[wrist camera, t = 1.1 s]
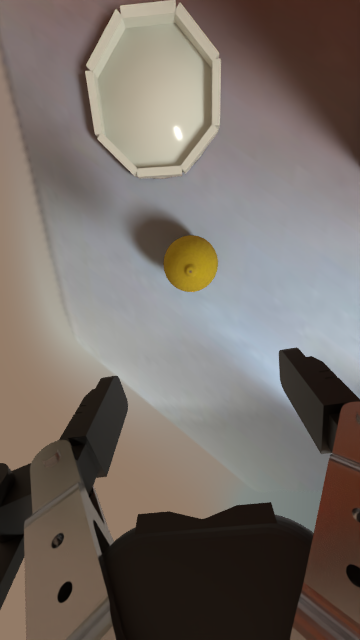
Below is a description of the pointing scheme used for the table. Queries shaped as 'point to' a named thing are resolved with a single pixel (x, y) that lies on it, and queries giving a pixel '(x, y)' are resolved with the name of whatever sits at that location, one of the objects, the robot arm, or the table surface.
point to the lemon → (190, 263)
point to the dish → (154, 89)
